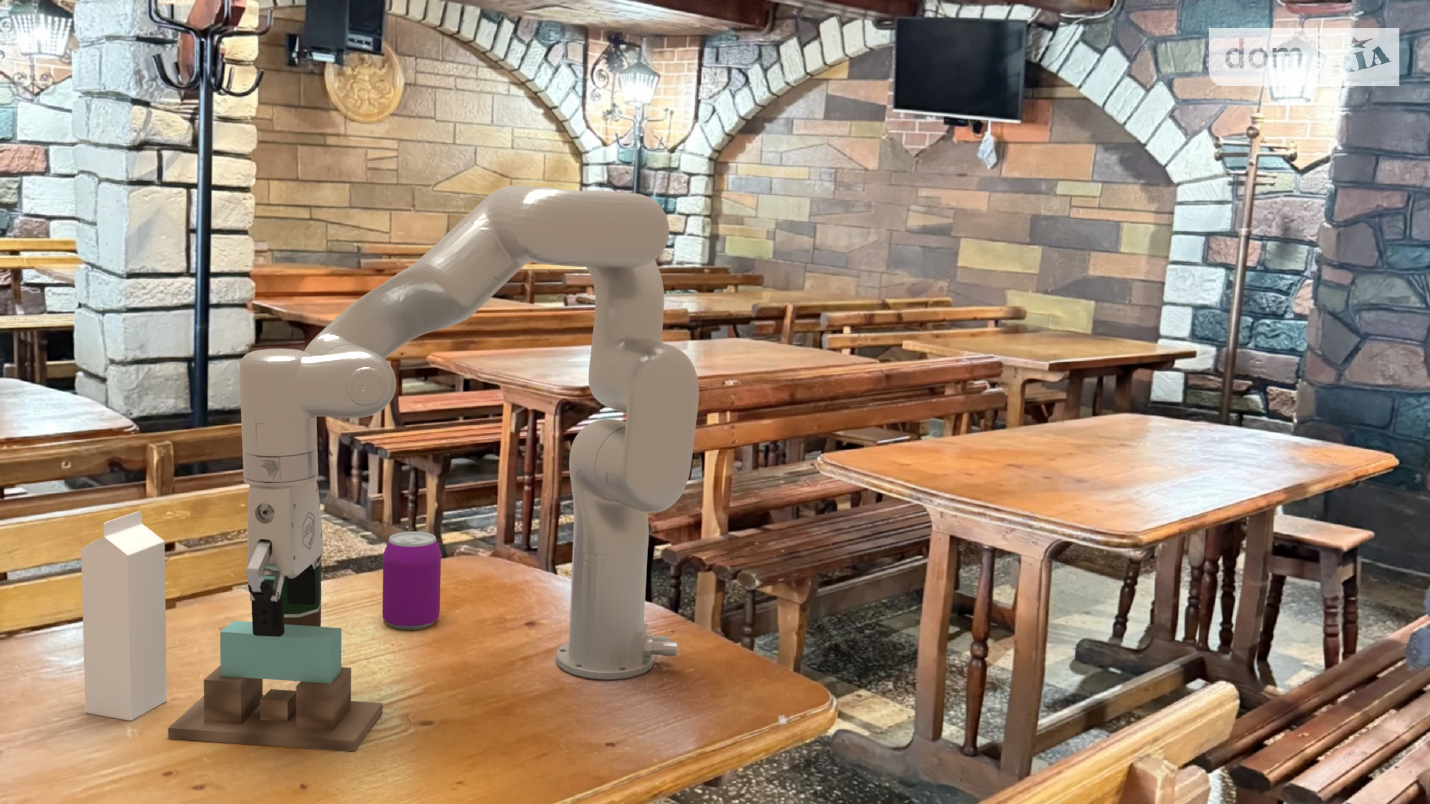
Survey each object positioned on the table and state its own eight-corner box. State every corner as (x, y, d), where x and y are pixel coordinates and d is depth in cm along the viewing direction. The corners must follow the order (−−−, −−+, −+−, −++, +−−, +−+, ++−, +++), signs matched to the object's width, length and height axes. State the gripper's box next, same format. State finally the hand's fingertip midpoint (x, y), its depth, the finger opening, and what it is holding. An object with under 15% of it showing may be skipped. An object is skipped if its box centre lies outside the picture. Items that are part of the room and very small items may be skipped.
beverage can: (414, 608, 178) (415, 526, 176) (451, 622, 173) (453, 538, 171) (370, 622, 172) (371, 537, 170) (407, 636, 167) (409, 549, 165)
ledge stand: (382, 713, 143) (383, 663, 142) (354, 751, 133) (355, 697, 132) (208, 701, 143) (208, 651, 142) (168, 738, 133) (167, 685, 132)
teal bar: (341, 671, 139) (341, 628, 138) (330, 683, 135) (330, 639, 134) (233, 663, 139) (233, 620, 138) (220, 675, 136) (220, 631, 135)
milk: (84, 713, 138) (77, 520, 135) (123, 693, 144) (117, 507, 141) (132, 721, 137) (126, 526, 133) (169, 700, 143) (164, 512, 139)
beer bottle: (302, 655, 158) (303, 469, 155) (246, 647, 160) (245, 463, 156) (333, 634, 166) (334, 457, 162) (279, 627, 167) (279, 451, 164)
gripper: (285, 487, 125) (291, 650, 128) (342, 449, 142) (346, 594, 145) (211, 484, 125) (218, 647, 128) (276, 446, 142) (281, 591, 145)
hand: (286, 618), depth 137 cm, fingers open, 9 cm apart
